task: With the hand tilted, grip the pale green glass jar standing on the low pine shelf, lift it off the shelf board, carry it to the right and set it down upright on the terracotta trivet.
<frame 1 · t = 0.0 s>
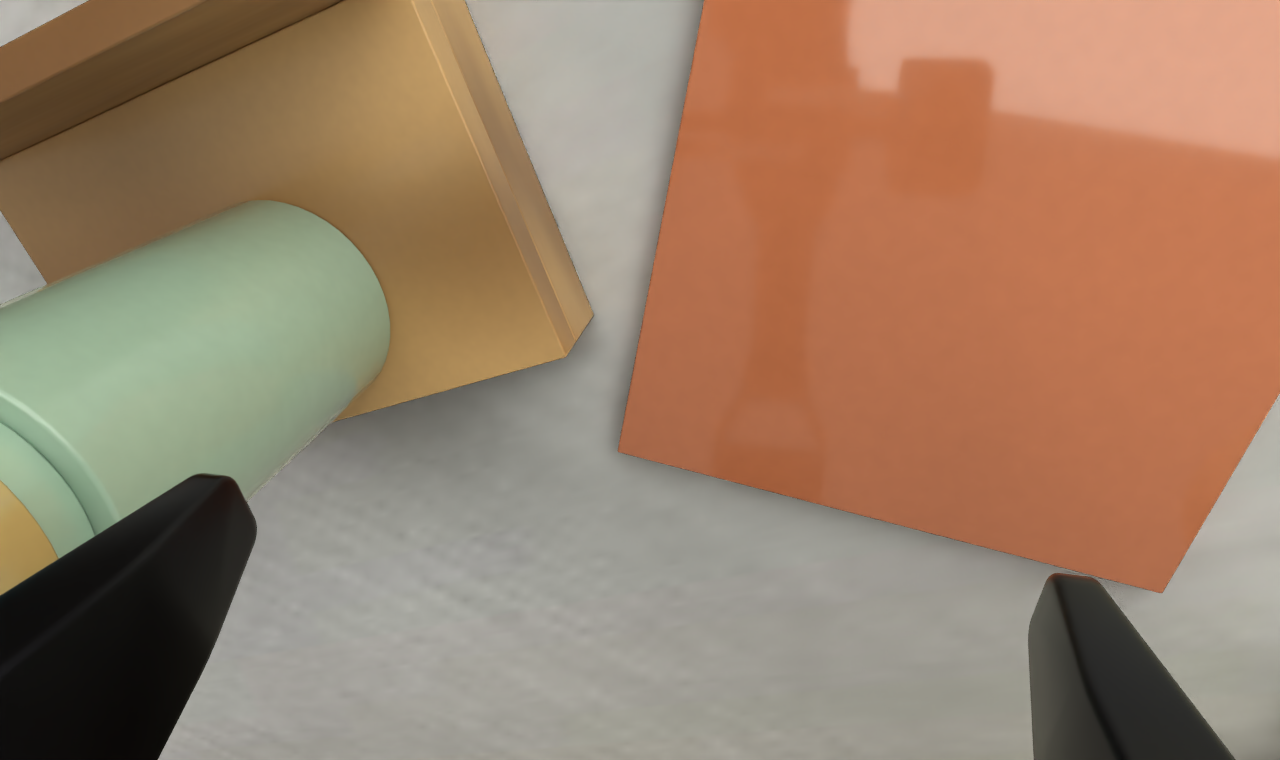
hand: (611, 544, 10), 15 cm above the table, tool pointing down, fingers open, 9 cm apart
jar: (288, 308, 24), point 3 cm above the table, touching shelf
trivet: (972, 256, 23), on the table
shelf: (318, 225, 26), on the table
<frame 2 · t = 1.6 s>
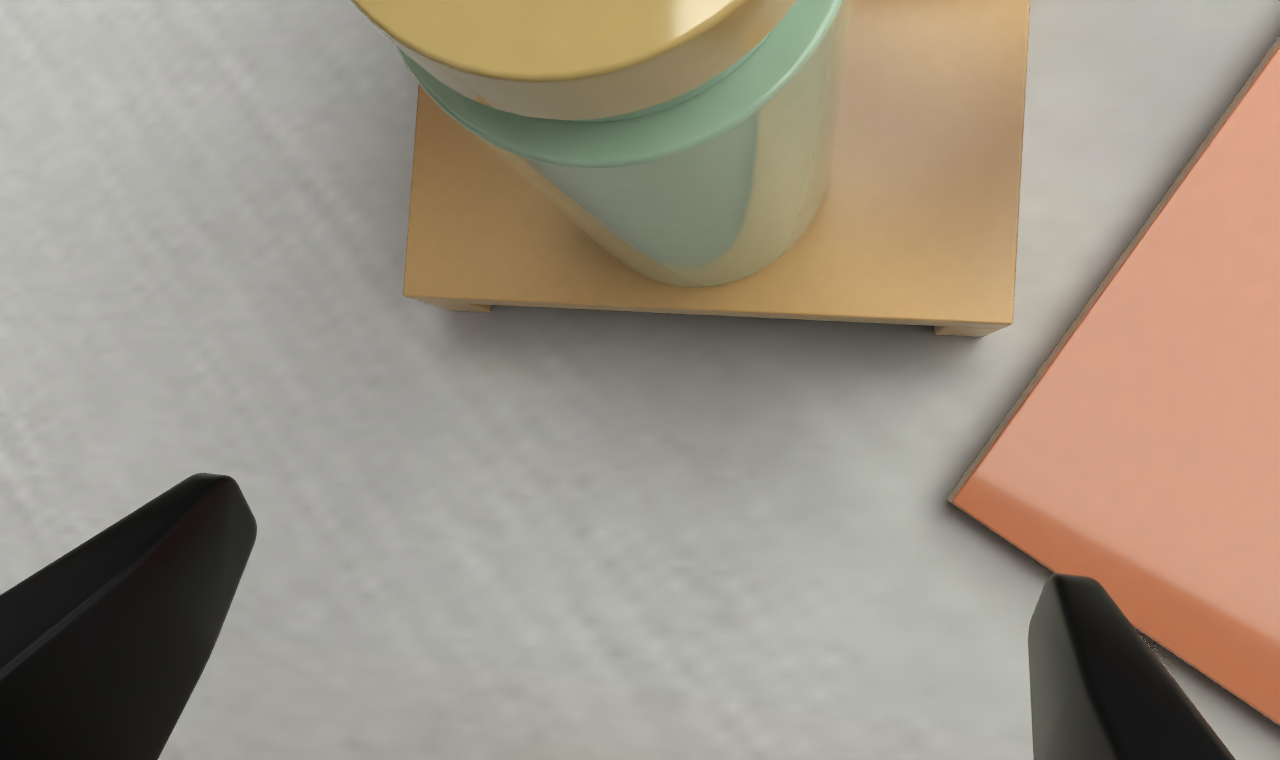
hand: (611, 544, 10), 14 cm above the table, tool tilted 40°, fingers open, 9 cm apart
jar: (698, 157, 20), point 3 cm above the table, touching shelf
shelf: (715, 133, 23), on the table
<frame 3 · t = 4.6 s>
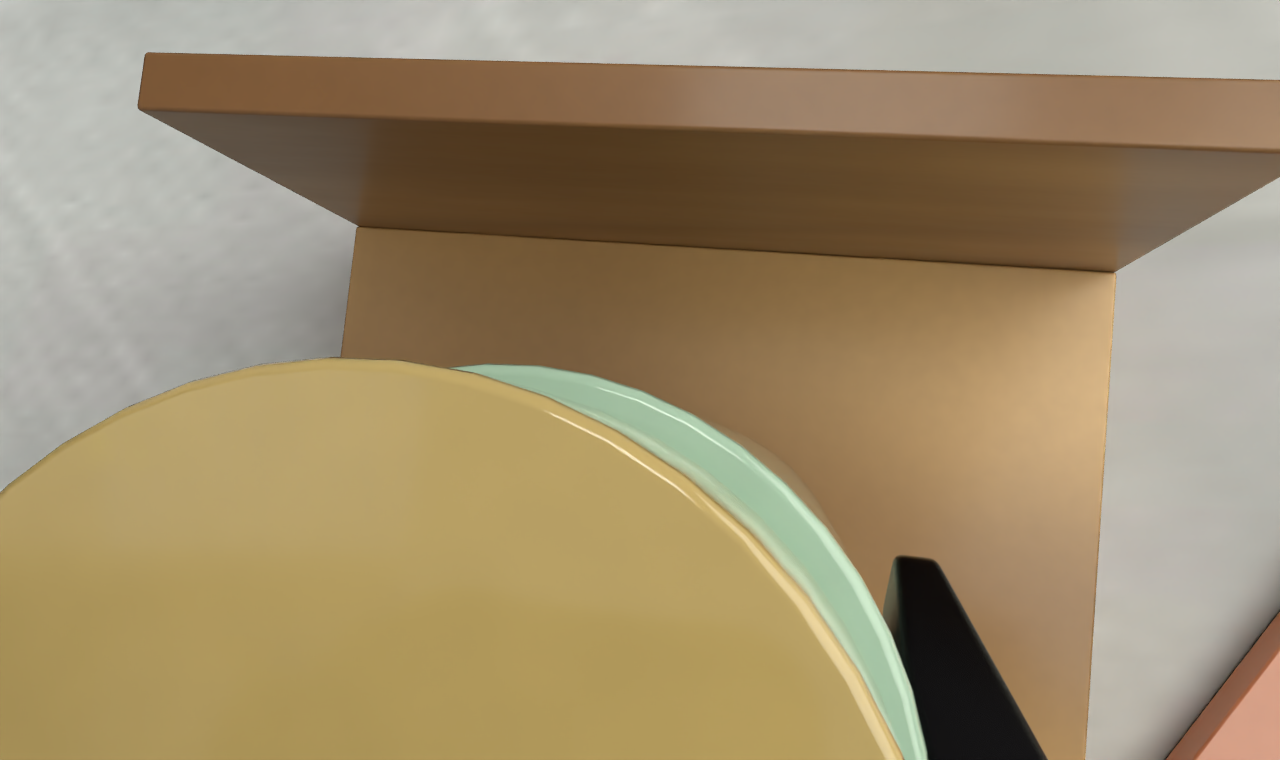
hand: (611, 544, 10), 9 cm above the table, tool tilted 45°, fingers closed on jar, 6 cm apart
jar: (674, 587, 16), point 3 cm above the table, touching gripper, shelf
shelf: (700, 496, 19), on the table
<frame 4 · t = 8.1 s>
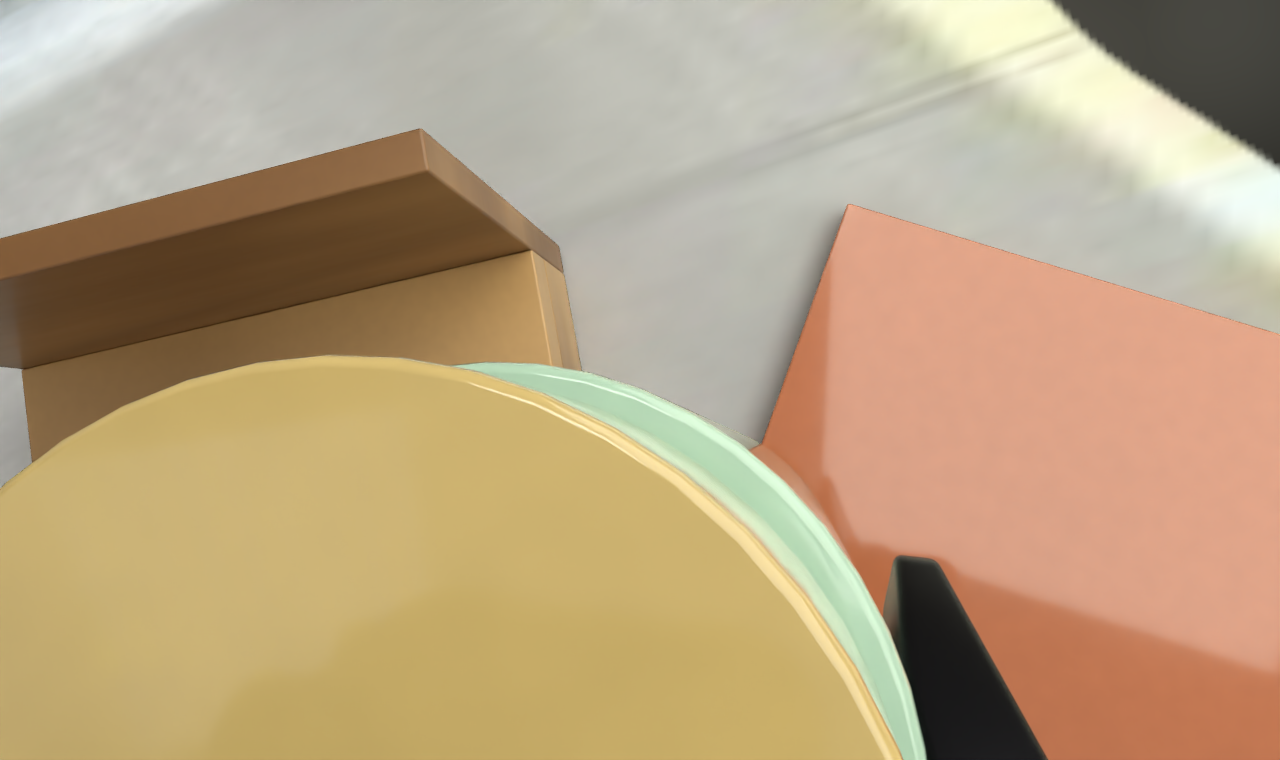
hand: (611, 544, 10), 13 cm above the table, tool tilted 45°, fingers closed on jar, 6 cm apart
jar: (673, 586, 16), point 7 cm above the table, touching gripper
trivet: (1058, 626, 21), on the table
shelf: (351, 493, 24), on the table
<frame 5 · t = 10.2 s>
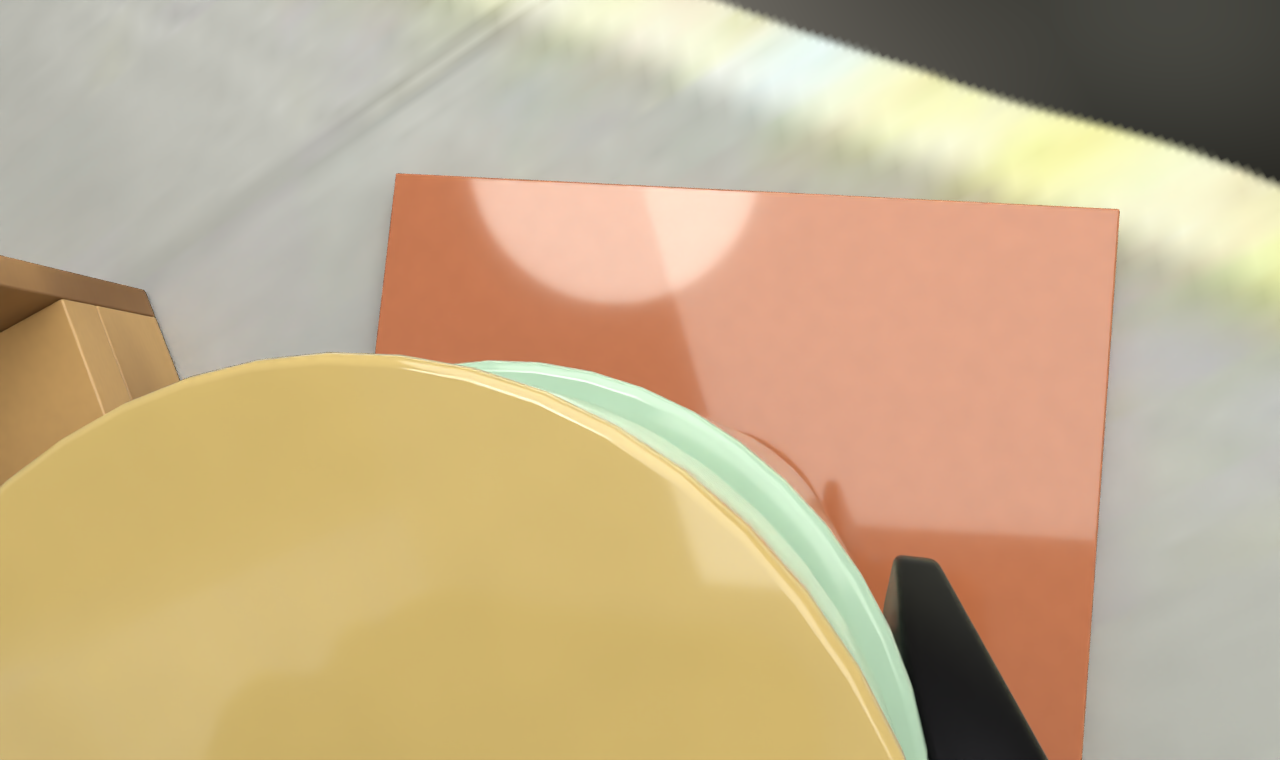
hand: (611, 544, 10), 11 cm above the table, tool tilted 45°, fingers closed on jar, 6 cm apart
jar: (674, 586, 16), point 4 cm above the table, touching gripper
trivet: (701, 548, 20), on the table
when the fingers open (7 cm above the table, at t = 11.7 s): jar stays where it is, resting on trivet.
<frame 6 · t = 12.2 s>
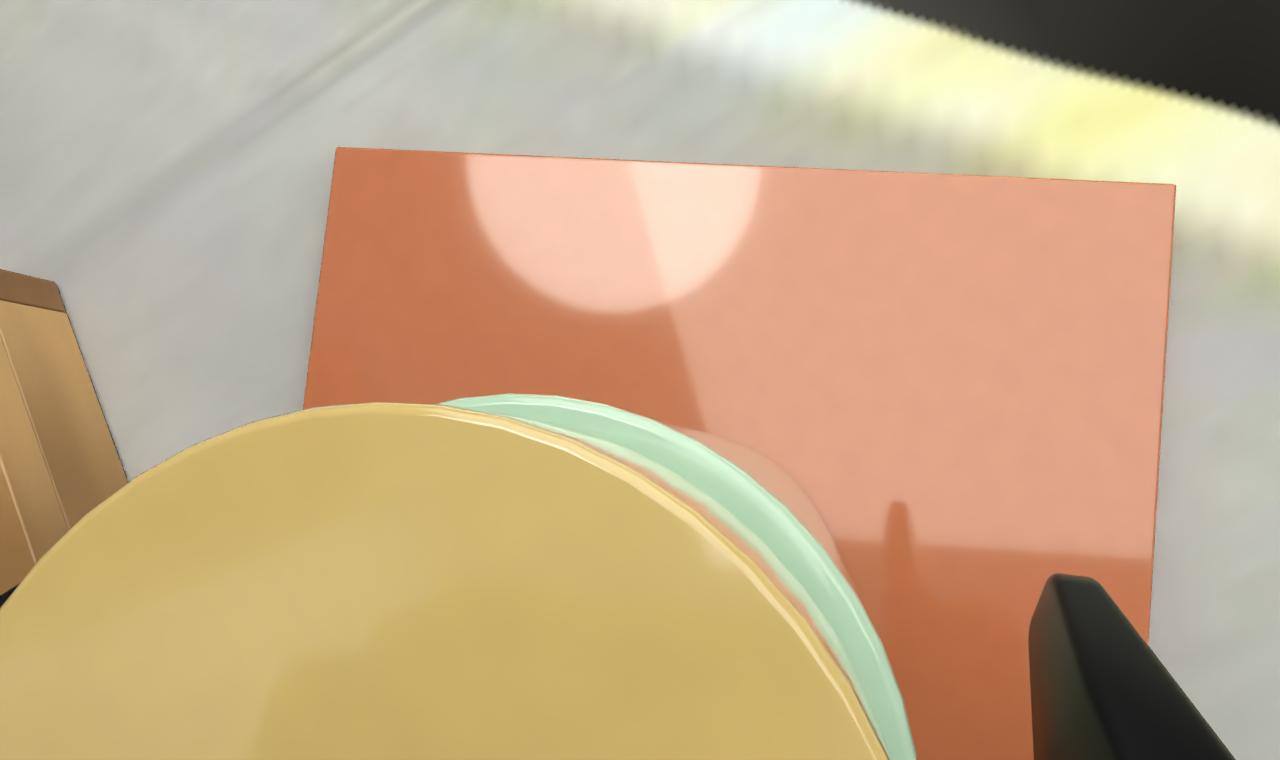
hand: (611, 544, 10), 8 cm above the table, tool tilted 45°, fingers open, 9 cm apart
jar: (677, 593, 16), point 1 cm above the table, touching trivet
trivet: (685, 580, 17), on the table
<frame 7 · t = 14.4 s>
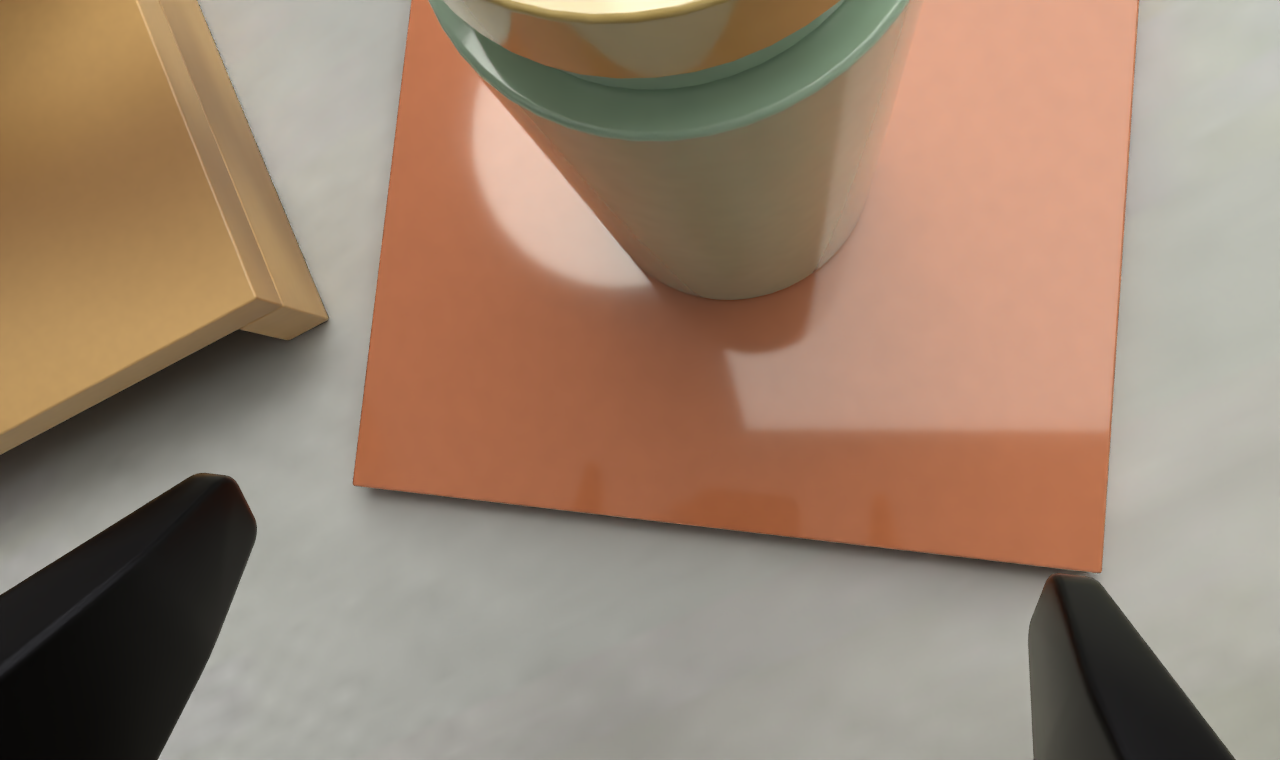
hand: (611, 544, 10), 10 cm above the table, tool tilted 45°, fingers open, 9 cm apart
jar: (731, 164, 19), point 1 cm above the table, touching trivet
trivet: (736, 170, 20), on the table
shelf: (31, 269, 23), on the table
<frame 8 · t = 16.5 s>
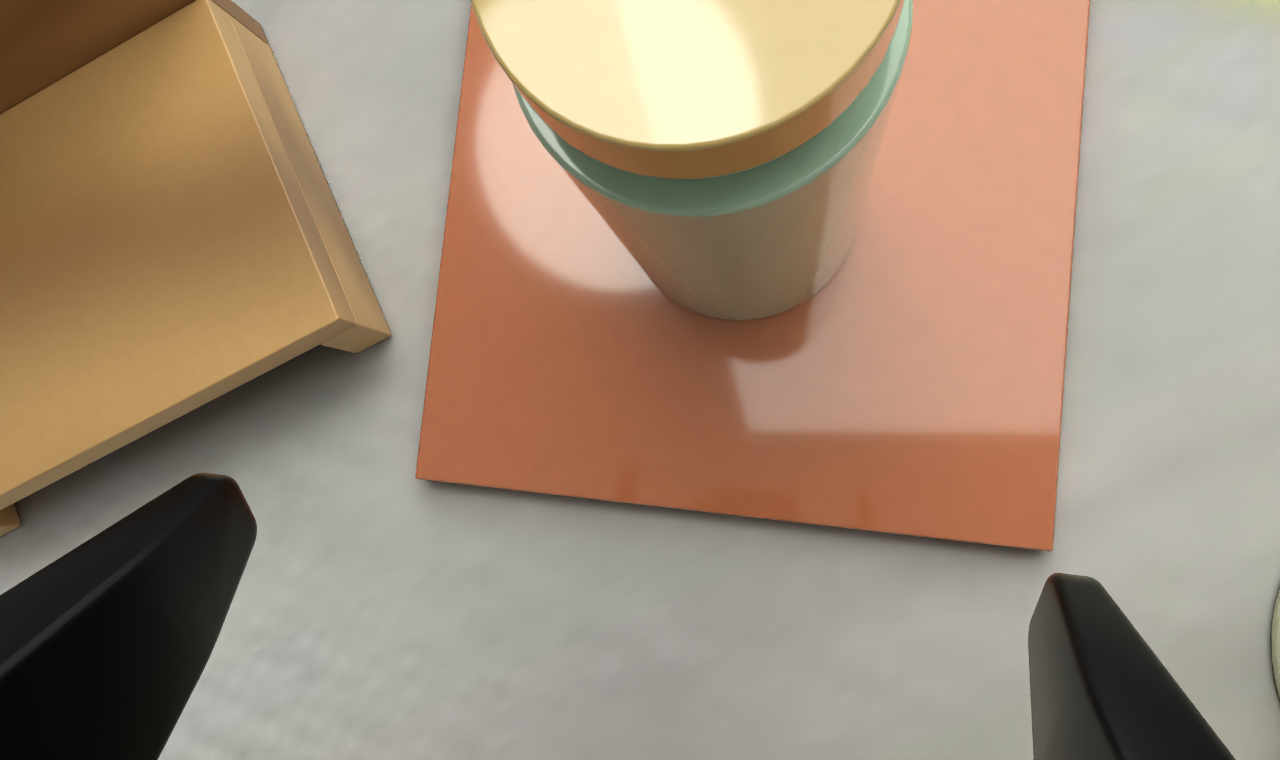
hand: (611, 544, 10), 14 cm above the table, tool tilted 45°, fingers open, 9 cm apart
jar: (741, 205, 23), point 1 cm above the table, touching trivet
trivet: (744, 208, 24), on the table
shelf: (128, 290, 27), on the table
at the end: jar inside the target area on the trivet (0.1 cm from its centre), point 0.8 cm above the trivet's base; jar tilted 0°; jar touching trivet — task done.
